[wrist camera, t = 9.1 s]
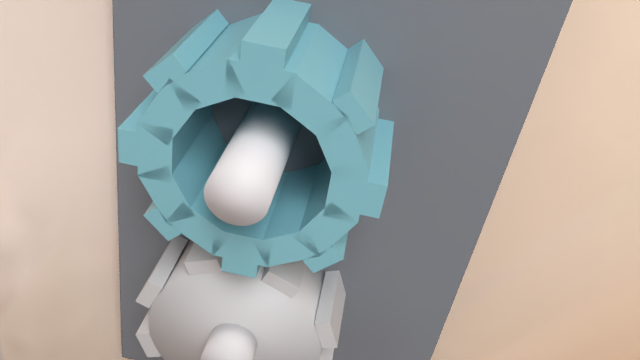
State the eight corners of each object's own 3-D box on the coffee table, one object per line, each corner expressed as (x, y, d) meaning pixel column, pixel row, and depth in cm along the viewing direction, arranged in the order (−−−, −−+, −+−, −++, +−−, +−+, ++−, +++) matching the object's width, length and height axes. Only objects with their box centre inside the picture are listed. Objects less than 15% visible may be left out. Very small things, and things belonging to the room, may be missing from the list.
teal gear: (367, 226, 20) (357, 301, 17) (166, 182, 20) (121, 248, 17) (418, 26, 16) (416, 76, 13) (169, -25, 16) (114, 14, 13)
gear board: (405, 392, 26) (401, 535, 21) (136, 330, 26) (68, 455, 21) (567, -33, 16) (632, 43, 11) (133, -122, 17) (5, -87, 12)
